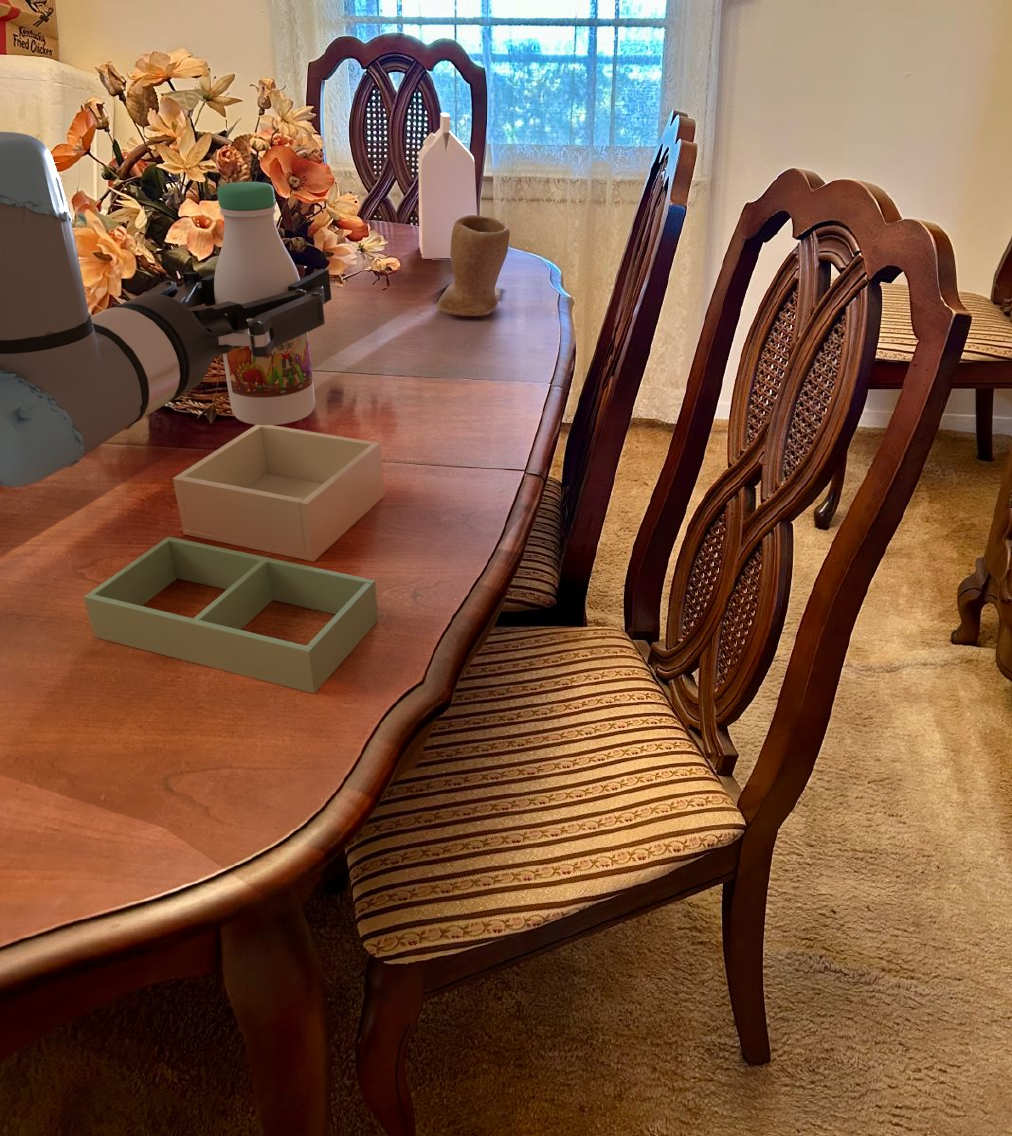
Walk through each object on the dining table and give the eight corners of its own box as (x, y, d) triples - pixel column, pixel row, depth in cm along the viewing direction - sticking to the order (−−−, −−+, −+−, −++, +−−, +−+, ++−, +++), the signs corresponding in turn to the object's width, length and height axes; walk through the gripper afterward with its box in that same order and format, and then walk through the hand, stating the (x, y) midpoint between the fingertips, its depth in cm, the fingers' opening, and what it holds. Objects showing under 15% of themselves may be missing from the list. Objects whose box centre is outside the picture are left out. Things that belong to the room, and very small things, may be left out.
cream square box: (183, 534, 91) (172, 478, 88) (265, 474, 103) (258, 422, 100) (313, 562, 87) (307, 504, 84) (384, 496, 99) (381, 442, 96)
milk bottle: (214, 415, 87) (176, 186, 76) (276, 391, 92) (248, 174, 82) (272, 434, 83) (240, 196, 73) (333, 408, 89) (311, 183, 78)
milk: (479, 258, 190) (478, 117, 177) (422, 259, 189) (417, 118, 175) (472, 245, 200) (471, 111, 187) (419, 246, 199) (413, 111, 186)
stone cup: (502, 324, 152) (503, 227, 144) (431, 319, 153) (428, 224, 145) (516, 299, 165) (517, 209, 157) (450, 295, 166) (448, 206, 158)
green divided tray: (94, 637, 76) (83, 596, 74) (176, 574, 85) (168, 535, 83) (314, 694, 70) (309, 651, 68) (378, 620, 79) (375, 580, 77)
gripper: (30, 393, 71) (192, 312, 90) (273, 421, 67) (391, 330, 86) (4, 294, 68) (179, 231, 86) (259, 317, 63) (386, 246, 82)
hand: (284, 280), depth 86 cm, fingers closed on milk bottle, 8 cm apart
